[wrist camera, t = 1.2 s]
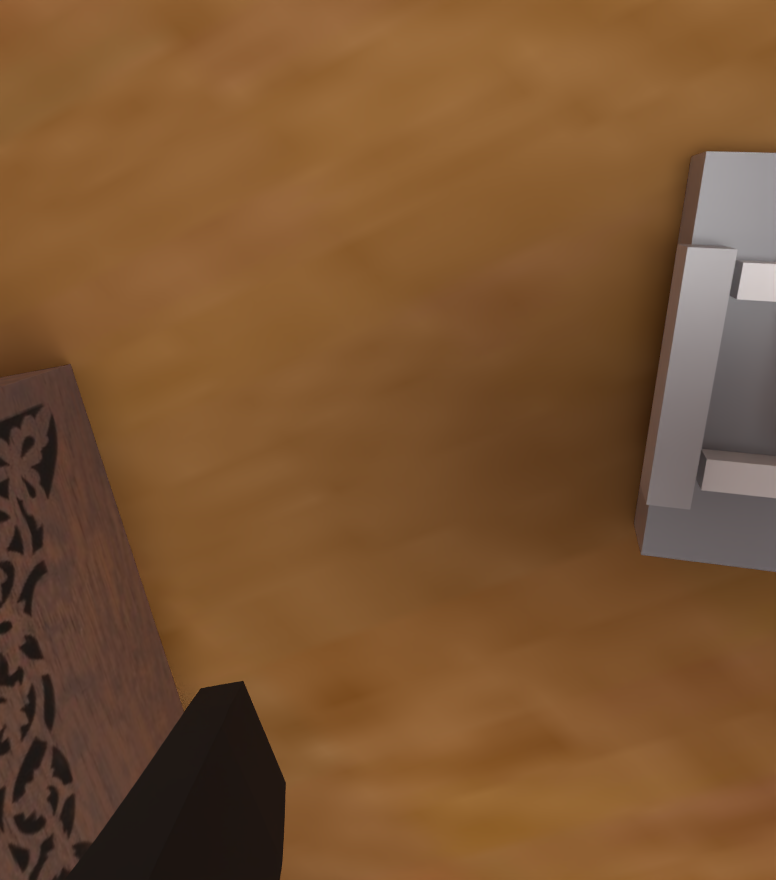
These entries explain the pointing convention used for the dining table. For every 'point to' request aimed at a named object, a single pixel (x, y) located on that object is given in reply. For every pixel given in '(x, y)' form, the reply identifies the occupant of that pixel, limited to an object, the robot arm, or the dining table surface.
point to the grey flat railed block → (717, 375)
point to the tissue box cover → (68, 636)
